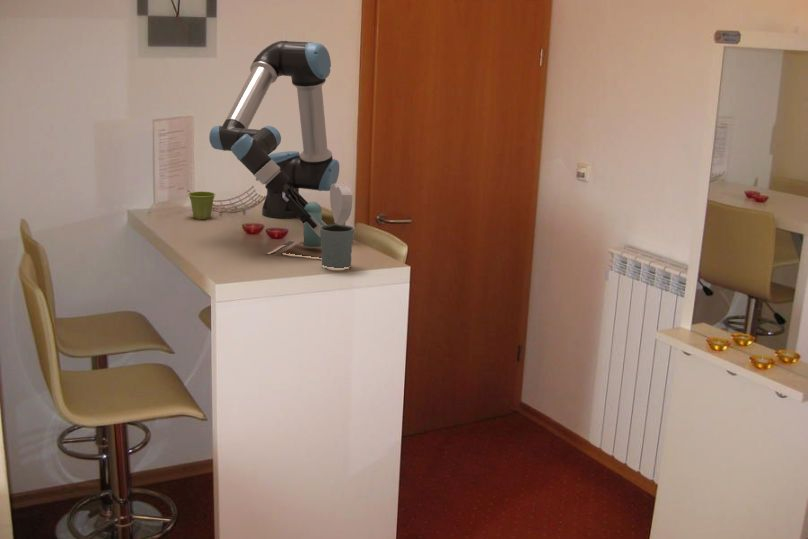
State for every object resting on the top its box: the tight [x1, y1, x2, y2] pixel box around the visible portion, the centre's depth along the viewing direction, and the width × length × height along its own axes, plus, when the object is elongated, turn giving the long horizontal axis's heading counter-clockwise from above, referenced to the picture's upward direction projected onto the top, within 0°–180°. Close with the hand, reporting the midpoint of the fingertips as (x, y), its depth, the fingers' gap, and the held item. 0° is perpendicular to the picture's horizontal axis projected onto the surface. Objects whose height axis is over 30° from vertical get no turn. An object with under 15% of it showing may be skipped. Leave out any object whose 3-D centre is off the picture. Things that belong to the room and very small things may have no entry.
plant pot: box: [187, 190, 216, 220], centre depth 332 cm, size 9×9×9 cm
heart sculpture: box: [329, 183, 353, 225], centre depth 311 cm, size 16×5×18 cm, turn 19°
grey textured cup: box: [320, 224, 355, 268], centre depth 276 cm, size 10×10×12 cm
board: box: [281, 241, 322, 258], centre depth 293 cm, size 16×14×1 cm
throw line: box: [282, 240, 294, 246], centre depth 296 cm, size 18×2×1 cm, turn 163°
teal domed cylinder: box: [302, 201, 323, 247], centre depth 291 cm, size 6×6×14 cm
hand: (324, 232), depth 291 cm, fingers closed on teal domed cylinder, 5 cm apart
